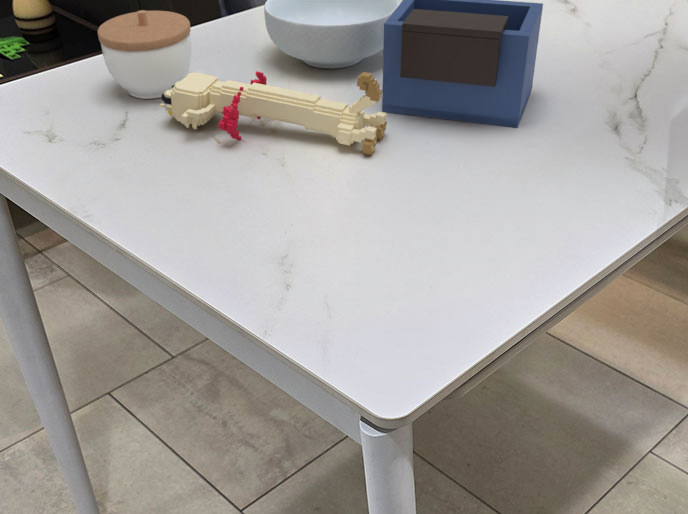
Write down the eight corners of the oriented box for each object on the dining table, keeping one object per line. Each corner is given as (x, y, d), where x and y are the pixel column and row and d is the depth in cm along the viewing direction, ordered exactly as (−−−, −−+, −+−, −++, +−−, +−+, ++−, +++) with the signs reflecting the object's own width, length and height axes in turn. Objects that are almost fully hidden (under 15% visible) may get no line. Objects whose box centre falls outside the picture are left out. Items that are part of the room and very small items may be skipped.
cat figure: (389, 135, 93) (185, 92, 100) (398, 59, 88) (181, 19, 95) (362, 178, 86) (143, 129, 93) (370, 98, 81) (137, 52, 87)
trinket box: (91, 91, 104) (76, 14, 98) (160, 64, 110) (149, -10, 104) (145, 115, 98) (132, 35, 92) (215, 85, 103) (207, 8, 98)
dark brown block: (502, 70, 91) (508, 16, 87) (494, 87, 87) (500, 31, 84) (410, 61, 94) (413, 8, 90) (400, 77, 90) (402, 23, 87)
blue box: (531, 90, 98) (543, 3, 92) (517, 127, 91) (529, 35, 85) (404, 77, 103) (407, -7, 97) (381, 111, 95) (383, 23, 89)
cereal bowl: (425, 52, 109) (428, -4, 104) (339, 95, 100) (338, 36, 95) (327, 24, 118) (326, -28, 114) (240, 61, 109) (235, 5, 105)
